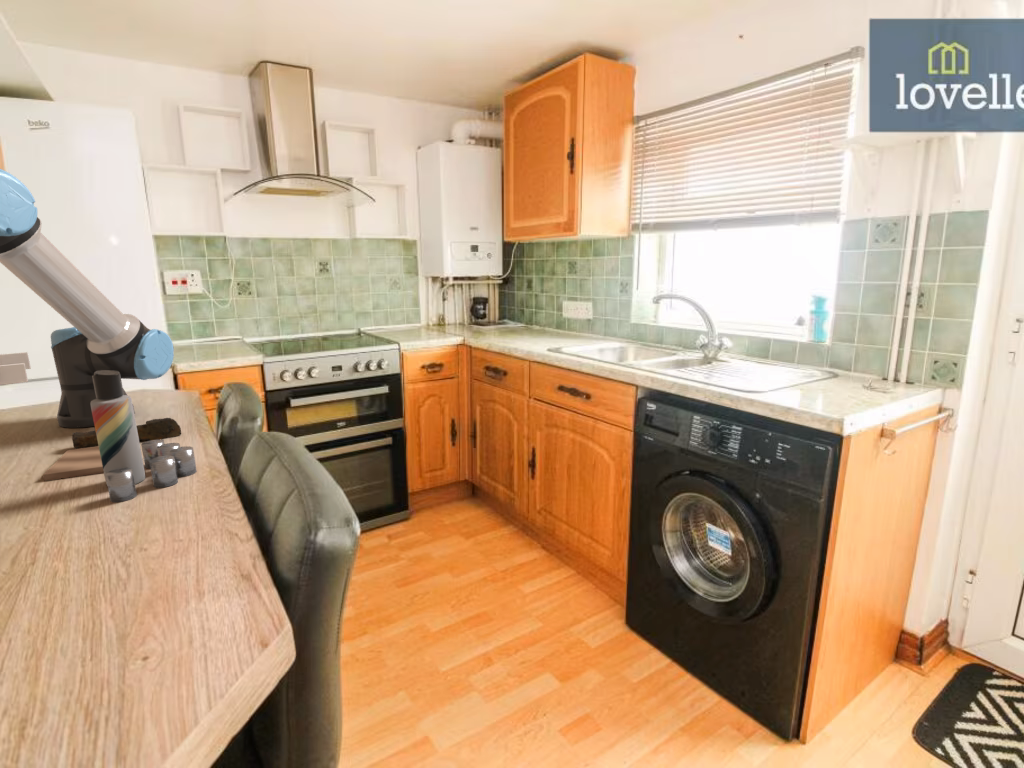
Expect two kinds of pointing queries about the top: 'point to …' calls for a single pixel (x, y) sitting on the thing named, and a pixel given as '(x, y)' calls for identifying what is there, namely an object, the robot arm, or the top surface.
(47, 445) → the top surface
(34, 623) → the top surface
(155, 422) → the hand tool
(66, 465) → the brown wooden flat board
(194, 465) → the steel spacers
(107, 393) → the lotion bottle
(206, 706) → the top surface
